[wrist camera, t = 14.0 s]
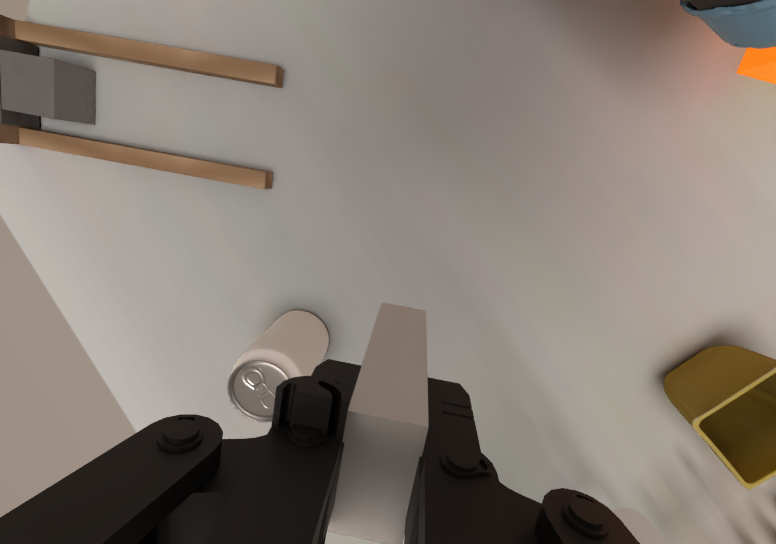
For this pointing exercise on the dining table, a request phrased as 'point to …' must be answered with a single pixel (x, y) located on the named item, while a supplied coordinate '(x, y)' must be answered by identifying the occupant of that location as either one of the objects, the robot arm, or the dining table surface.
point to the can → (276, 362)
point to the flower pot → (731, 407)
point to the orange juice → (759, 64)
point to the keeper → (47, 88)
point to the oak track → (26, 35)
